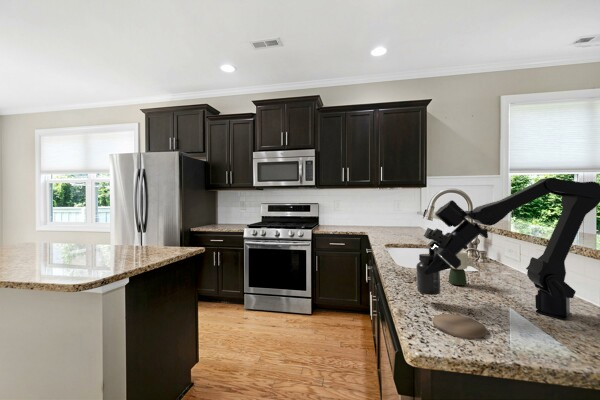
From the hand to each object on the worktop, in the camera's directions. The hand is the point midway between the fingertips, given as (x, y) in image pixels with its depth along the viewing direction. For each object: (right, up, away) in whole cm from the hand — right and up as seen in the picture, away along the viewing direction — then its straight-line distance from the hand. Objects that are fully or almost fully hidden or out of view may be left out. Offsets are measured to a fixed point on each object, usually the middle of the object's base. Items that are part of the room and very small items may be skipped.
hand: (423, 270), depth 88 cm
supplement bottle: (+1, -7, -1) cm, 7 cm away
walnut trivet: (+1, -10, -17) cm, 20 cm away
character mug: (+22, -11, +19) cm, 31 cm away
